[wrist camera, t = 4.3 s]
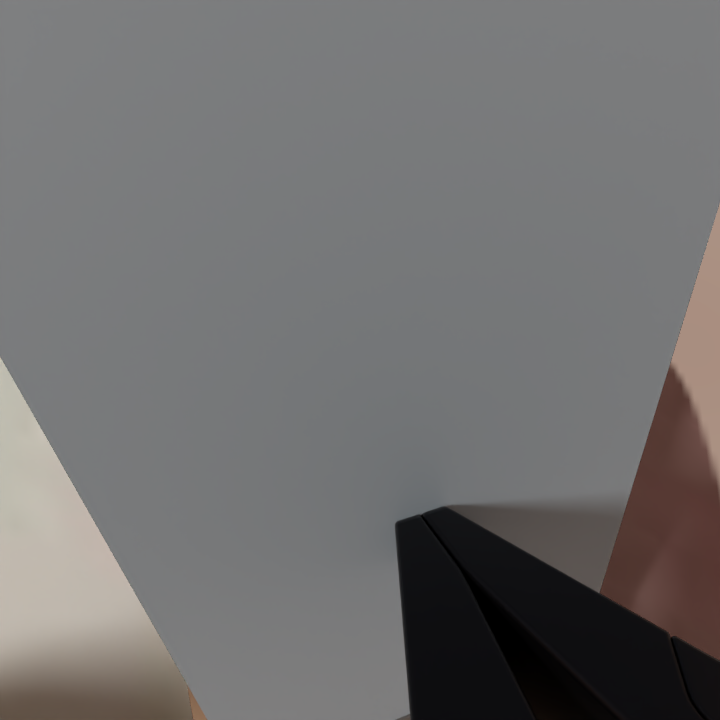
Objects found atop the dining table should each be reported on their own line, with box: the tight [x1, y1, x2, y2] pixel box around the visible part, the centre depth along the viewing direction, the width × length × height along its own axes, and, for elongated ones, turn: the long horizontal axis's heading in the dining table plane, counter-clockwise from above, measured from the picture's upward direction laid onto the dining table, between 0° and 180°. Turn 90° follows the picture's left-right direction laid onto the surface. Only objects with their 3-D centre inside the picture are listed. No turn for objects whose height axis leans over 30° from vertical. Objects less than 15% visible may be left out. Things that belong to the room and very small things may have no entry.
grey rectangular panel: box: [0, 0, 720, 720], centre depth 8 cm, size 1×8×14 cm
